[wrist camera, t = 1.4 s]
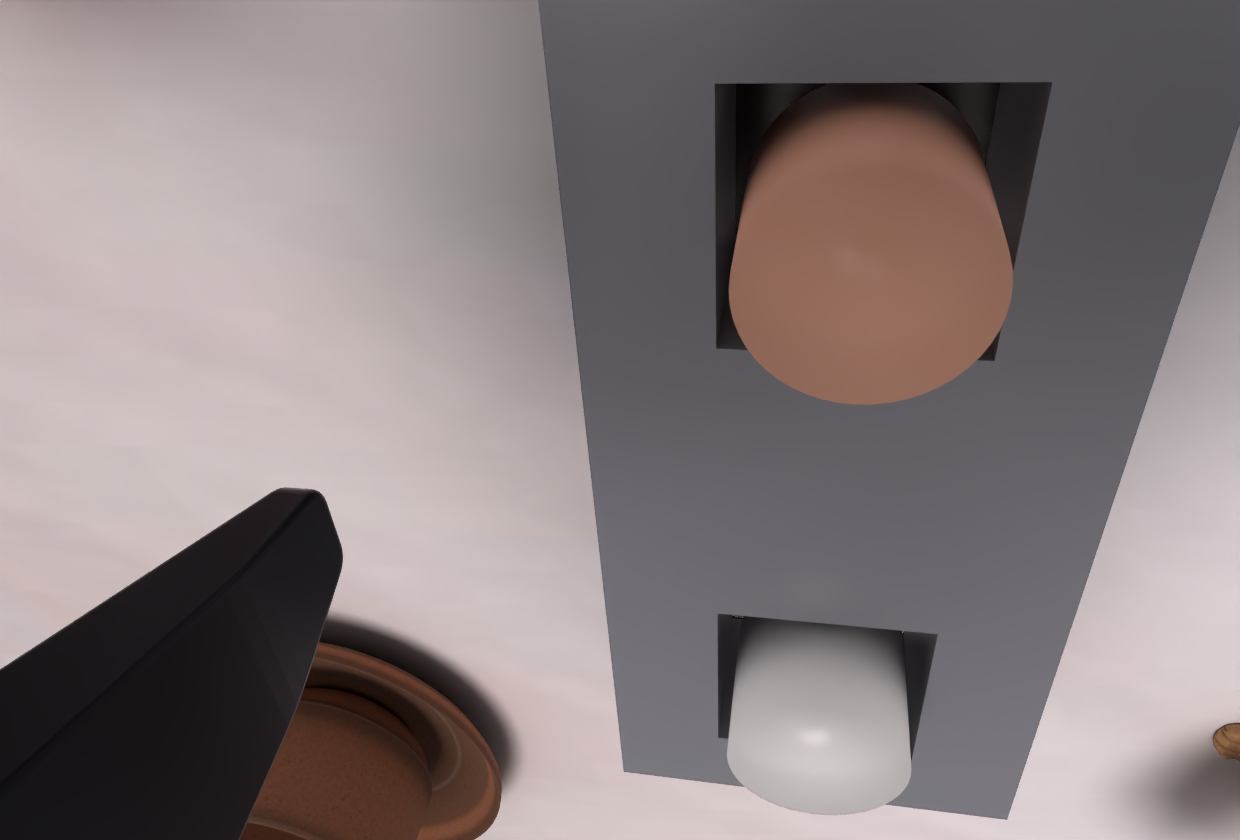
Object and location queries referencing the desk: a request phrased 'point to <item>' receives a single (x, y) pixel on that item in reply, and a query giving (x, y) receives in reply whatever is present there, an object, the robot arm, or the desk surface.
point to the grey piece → (820, 715)
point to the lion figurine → (1228, 741)
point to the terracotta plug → (869, 246)
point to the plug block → (890, 432)
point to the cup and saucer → (375, 760)
